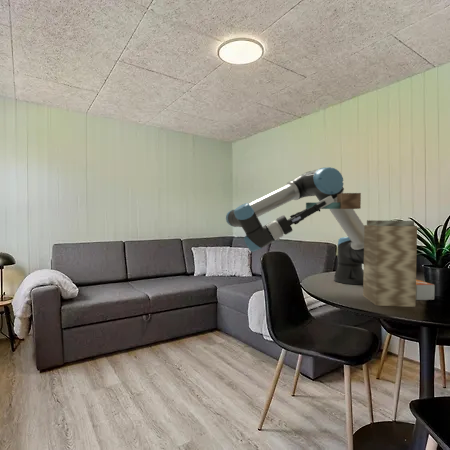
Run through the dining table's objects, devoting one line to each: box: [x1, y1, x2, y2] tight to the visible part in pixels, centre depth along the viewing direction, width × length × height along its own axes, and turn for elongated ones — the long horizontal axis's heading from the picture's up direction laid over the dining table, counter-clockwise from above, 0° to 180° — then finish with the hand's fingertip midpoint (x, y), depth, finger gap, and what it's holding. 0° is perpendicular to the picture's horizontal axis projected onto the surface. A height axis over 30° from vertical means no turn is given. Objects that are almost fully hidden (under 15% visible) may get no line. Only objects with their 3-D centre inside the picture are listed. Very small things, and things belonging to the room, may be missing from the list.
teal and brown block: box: [305, 192, 362, 210], centre depth 121 cm, size 20×7×6 cm, turn 84°
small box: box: [416, 278, 436, 301], centre depth 128 cm, size 8×6×13 cm
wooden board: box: [362, 219, 418, 308], centre depth 120 cm, size 14×14×32 cm
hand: (331, 198), depth 121 cm, fingers closed on teal and brown block, 2 cm apart
